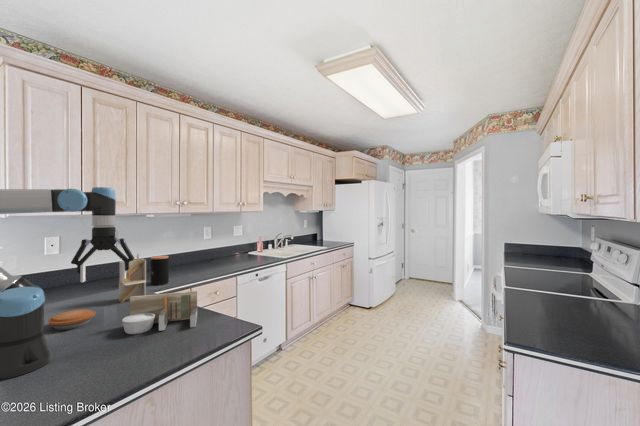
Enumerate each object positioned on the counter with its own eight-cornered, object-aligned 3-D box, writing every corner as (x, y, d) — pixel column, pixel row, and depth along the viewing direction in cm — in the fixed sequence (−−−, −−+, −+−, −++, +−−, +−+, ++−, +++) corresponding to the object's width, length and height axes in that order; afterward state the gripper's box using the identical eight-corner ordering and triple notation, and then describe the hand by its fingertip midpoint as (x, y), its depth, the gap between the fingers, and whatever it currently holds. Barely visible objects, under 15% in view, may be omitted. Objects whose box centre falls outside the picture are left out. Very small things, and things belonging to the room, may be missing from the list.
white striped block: (195, 327, 121) (195, 315, 121) (190, 327, 120) (190, 315, 120) (197, 318, 131) (196, 307, 131) (192, 319, 130) (192, 308, 130)
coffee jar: (152, 282, 198) (152, 255, 198) (170, 281, 201) (170, 255, 201) (148, 286, 188) (148, 258, 188) (167, 285, 191) (166, 257, 191)
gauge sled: (164, 330, 117) (164, 302, 117) (158, 330, 117) (158, 303, 117) (168, 321, 127) (168, 295, 127) (163, 321, 126) (163, 296, 126)
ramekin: (161, 326, 122) (161, 314, 122) (136, 337, 111) (136, 323, 111) (141, 323, 126) (141, 311, 126) (115, 333, 115) (115, 320, 115)
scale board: (197, 318, 131) (197, 291, 131) (130, 325, 122) (129, 297, 122) (197, 317, 132) (197, 290, 132) (130, 324, 124) (130, 296, 124)
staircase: (118, 301, 157) (118, 254, 157) (142, 297, 165) (142, 252, 165) (122, 305, 152) (122, 256, 151) (147, 300, 160) (147, 253, 160)
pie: (76, 332, 117) (76, 319, 117) (36, 332, 116) (36, 320, 116) (104, 318, 132) (104, 307, 132) (69, 318, 132) (69, 307, 132)
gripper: (142, 225, 124) (142, 275, 124) (68, 226, 114) (68, 280, 114) (138, 226, 117) (138, 279, 117) (60, 227, 107) (60, 285, 107)
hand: (104, 280), depth 116 cm, fingers open, 13 cm apart
